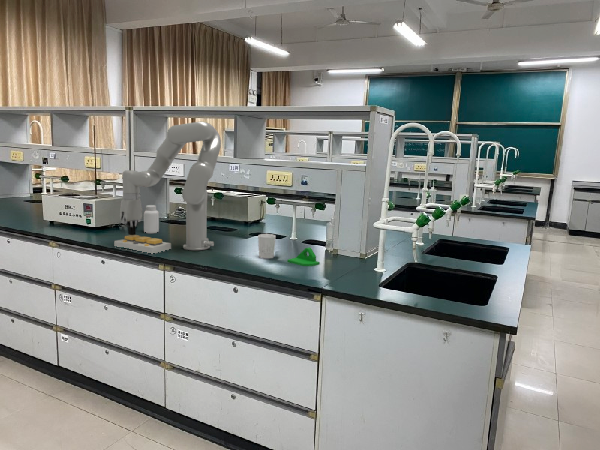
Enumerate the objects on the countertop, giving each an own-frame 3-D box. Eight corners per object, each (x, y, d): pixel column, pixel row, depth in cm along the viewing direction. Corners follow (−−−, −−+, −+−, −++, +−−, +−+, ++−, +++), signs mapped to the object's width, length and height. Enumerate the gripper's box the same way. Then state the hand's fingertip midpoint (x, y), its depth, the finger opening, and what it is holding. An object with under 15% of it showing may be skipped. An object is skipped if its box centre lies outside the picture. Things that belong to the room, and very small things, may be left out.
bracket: (287, 262, 198) (287, 247, 197) (299, 259, 204) (299, 245, 203) (307, 268, 190) (308, 252, 189) (319, 265, 196) (320, 249, 195)
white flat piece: (170, 249, 213) (170, 241, 212) (152, 254, 202) (152, 246, 202) (134, 242, 223) (133, 235, 223) (114, 247, 213) (114, 239, 212)
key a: (162, 245, 211) (162, 239, 210) (154, 247, 206) (154, 241, 206) (154, 243, 213) (154, 238, 212) (146, 245, 209) (146, 239, 208)
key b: (151, 243, 214) (151, 237, 213) (143, 245, 209) (143, 239, 209) (143, 242, 216) (143, 236, 216) (135, 243, 212) (135, 238, 211)
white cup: (255, 255, 208) (256, 234, 206) (272, 254, 211) (272, 233, 209) (260, 259, 201) (260, 237, 199) (277, 258, 203) (277, 237, 202)
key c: (140, 241, 217) (140, 235, 216) (132, 243, 212) (132, 237, 212) (132, 240, 219) (132, 234, 219) (124, 241, 215) (124, 236, 214)
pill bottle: (147, 234, 245) (146, 207, 243) (141, 231, 251) (141, 205, 249) (161, 232, 250) (160, 206, 248) (155, 230, 256) (155, 204, 254)
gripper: (137, 194, 220) (138, 231, 223) (112, 197, 207) (113, 236, 210) (149, 196, 217) (149, 233, 220) (124, 198, 204) (125, 238, 207)
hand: (131, 234), depth 215 cm, fingers closed
